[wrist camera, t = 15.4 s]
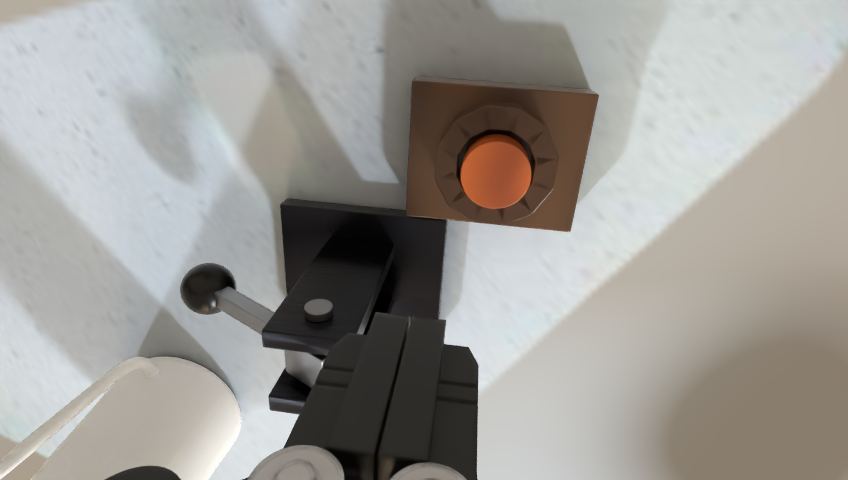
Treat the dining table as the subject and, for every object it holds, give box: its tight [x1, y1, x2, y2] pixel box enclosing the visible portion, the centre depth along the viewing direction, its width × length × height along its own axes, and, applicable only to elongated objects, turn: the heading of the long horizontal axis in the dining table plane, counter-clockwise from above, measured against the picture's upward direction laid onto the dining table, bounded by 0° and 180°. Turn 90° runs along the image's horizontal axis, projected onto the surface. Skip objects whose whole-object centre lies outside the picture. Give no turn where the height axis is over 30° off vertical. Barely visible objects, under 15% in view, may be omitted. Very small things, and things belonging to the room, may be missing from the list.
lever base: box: [262, 199, 448, 414], centre depth 28 cm, size 11×9×12 cm
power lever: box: [180, 263, 327, 388], centre depth 27 cm, size 13×3×3 cm, turn 87°
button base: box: [406, 76, 599, 232], centre depth 27 cm, size 10×8×4 cm
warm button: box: [460, 134, 531, 209], centre depth 25 cm, size 4×4×2 cm
